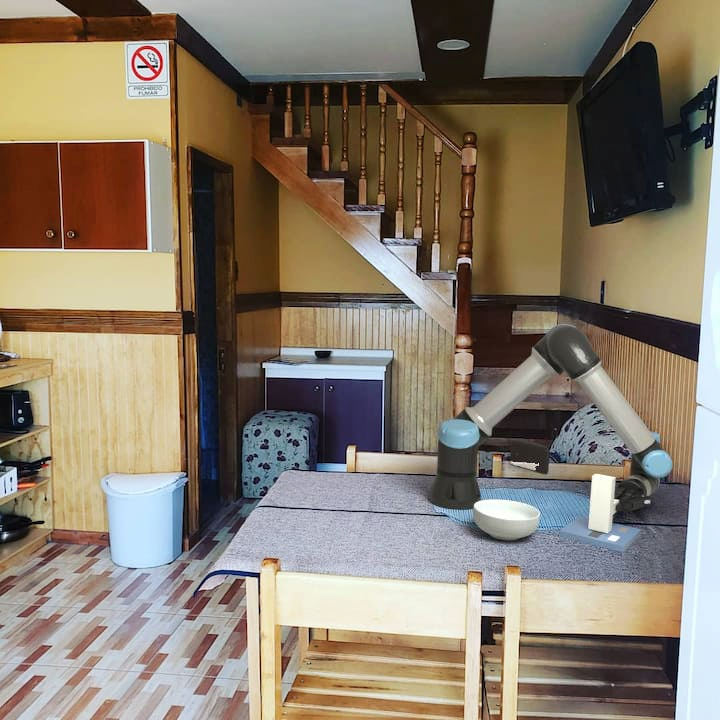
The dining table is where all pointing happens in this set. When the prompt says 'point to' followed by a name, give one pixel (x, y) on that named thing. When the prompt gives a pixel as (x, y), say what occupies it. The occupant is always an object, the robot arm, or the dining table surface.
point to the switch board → (600, 534)
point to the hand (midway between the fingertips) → (608, 510)
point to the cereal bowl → (506, 518)
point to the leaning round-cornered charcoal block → (530, 454)
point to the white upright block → (601, 503)
